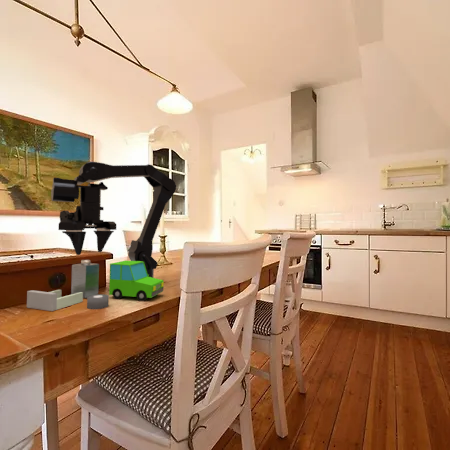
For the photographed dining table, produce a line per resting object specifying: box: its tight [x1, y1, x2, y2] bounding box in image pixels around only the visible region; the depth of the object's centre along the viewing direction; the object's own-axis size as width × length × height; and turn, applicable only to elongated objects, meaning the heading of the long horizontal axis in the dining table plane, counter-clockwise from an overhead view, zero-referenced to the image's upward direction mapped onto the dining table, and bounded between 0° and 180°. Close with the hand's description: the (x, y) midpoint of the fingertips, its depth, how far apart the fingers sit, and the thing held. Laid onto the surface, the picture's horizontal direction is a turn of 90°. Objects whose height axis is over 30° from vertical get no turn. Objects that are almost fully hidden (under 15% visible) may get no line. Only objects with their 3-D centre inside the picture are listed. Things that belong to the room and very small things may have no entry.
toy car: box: [108, 260, 165, 302], centre depth 81 cm, size 10×13×10 cm
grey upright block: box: [70, 259, 100, 299], centre depth 80 cm, size 5×5×10 cm
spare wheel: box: [86, 293, 110, 310], centre depth 70 cm, size 5×5×3 cm
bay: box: [26, 289, 84, 312], centre depth 71 cm, size 9×8×4 cm
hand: (89, 253), depth 85 cm, fingers open, 9 cm apart
